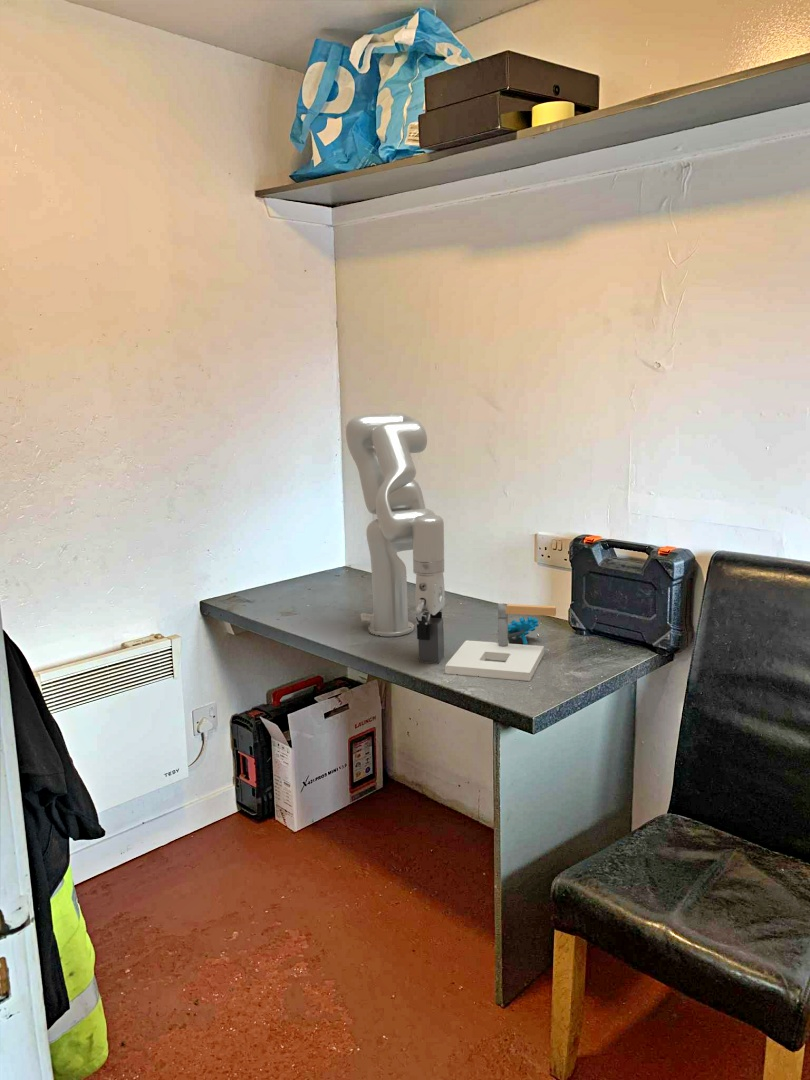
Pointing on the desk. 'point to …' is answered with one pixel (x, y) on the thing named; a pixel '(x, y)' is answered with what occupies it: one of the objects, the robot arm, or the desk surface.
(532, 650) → the socket block
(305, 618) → the desk surface
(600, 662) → the desk surface
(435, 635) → the plug
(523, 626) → the blue spiky figurine
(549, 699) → the desk surface
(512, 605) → the clip
